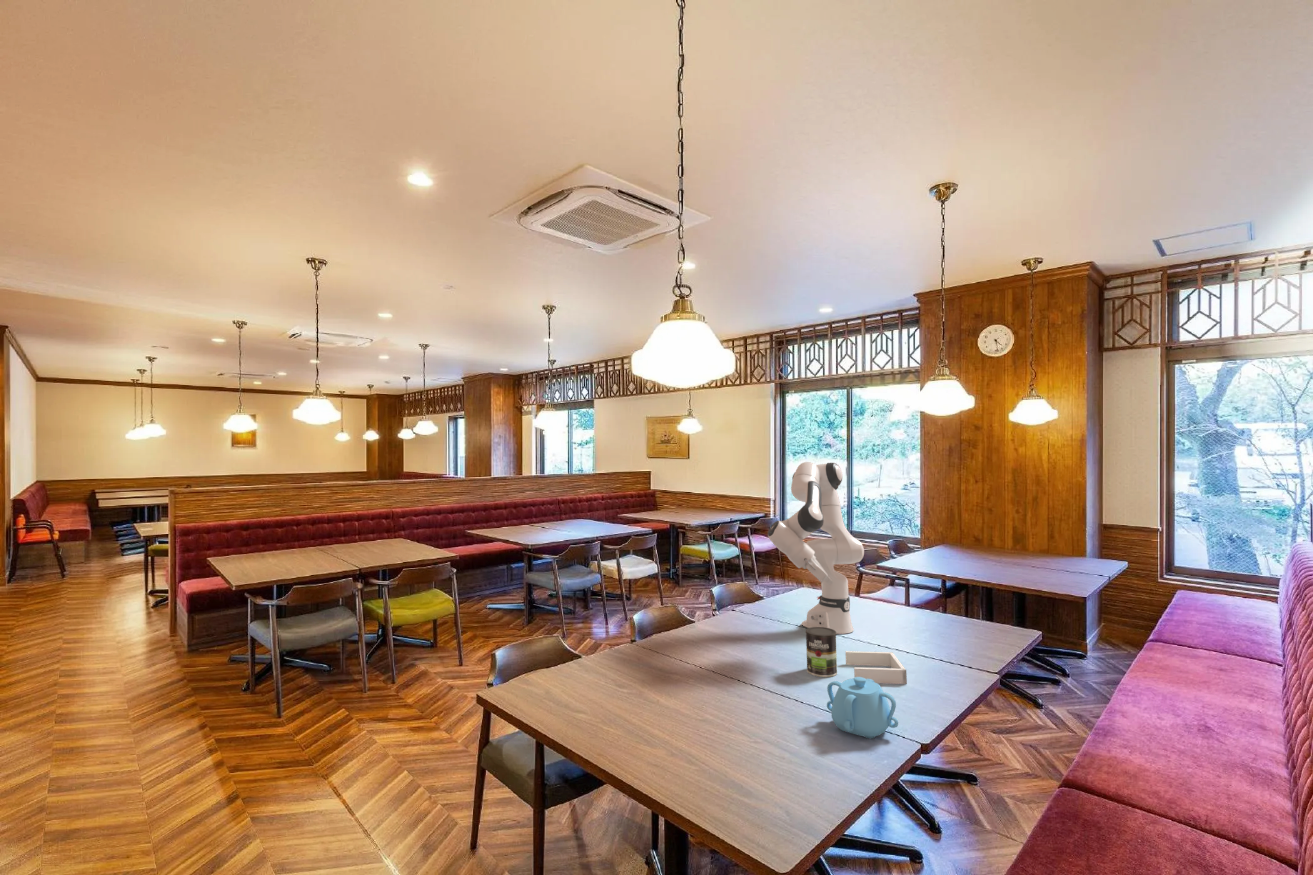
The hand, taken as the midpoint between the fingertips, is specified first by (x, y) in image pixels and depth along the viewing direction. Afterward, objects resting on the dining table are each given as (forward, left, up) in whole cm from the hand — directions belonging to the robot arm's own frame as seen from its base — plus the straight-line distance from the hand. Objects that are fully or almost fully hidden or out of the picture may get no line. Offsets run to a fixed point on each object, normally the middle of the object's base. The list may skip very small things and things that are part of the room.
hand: (831, 583), depth 214 cm
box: (+19, -3, -27) cm, 33 cm away
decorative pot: (+40, -41, -28) cm, 64 cm away
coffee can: (+7, -15, -28) cm, 32 cm away
